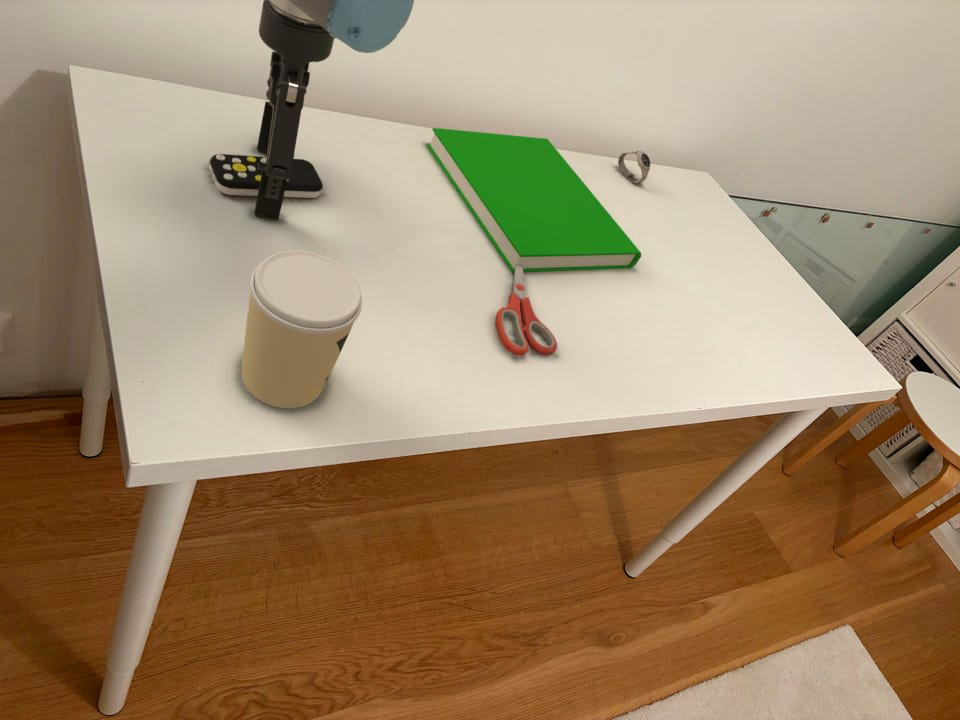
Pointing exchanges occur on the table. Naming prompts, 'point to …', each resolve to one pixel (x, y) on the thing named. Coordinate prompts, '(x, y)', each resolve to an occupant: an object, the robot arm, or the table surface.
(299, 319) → the coffee cup
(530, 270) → the book
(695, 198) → the table surface
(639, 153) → the wristwatch
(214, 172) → the remote control
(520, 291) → the scissors
